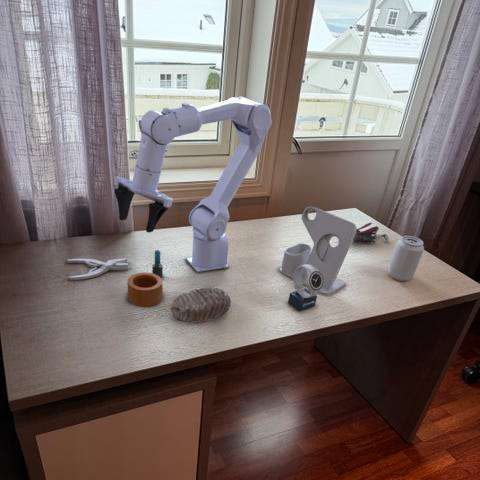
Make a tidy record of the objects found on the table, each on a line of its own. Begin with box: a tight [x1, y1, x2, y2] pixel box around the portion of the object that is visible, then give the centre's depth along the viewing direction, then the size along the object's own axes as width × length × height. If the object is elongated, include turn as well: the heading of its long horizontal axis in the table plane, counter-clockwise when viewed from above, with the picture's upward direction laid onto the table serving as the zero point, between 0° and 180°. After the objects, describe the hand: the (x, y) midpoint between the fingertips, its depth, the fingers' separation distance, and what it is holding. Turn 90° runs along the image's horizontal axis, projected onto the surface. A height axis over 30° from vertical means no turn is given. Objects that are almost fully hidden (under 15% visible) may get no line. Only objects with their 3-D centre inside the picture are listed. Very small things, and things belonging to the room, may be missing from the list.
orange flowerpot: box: [126, 272, 164, 307], centre depth 108 cm, size 8×8×5 cm
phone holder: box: [279, 205, 358, 296], centre depth 121 cm, size 17×10×18 cm, turn 47°
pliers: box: [66, 257, 129, 281], centre depth 117 cm, size 10×2×15 cm
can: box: [387, 235, 425, 282], centre depth 129 cm, size 8×8×12 cm
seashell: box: [170, 286, 232, 323], centre depth 104 cm, size 14×9×10 cm
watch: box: [287, 264, 324, 313], centre depth 111 cm, size 6×8×11 cm
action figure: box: [352, 222, 390, 244], centre depth 149 cm, size 8×6×18 cm
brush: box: [151, 249, 164, 280], centre depth 115 cm, size 3×3×8 cm
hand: (136, 225), depth 106 cm, fingers open, 7 cm apart
